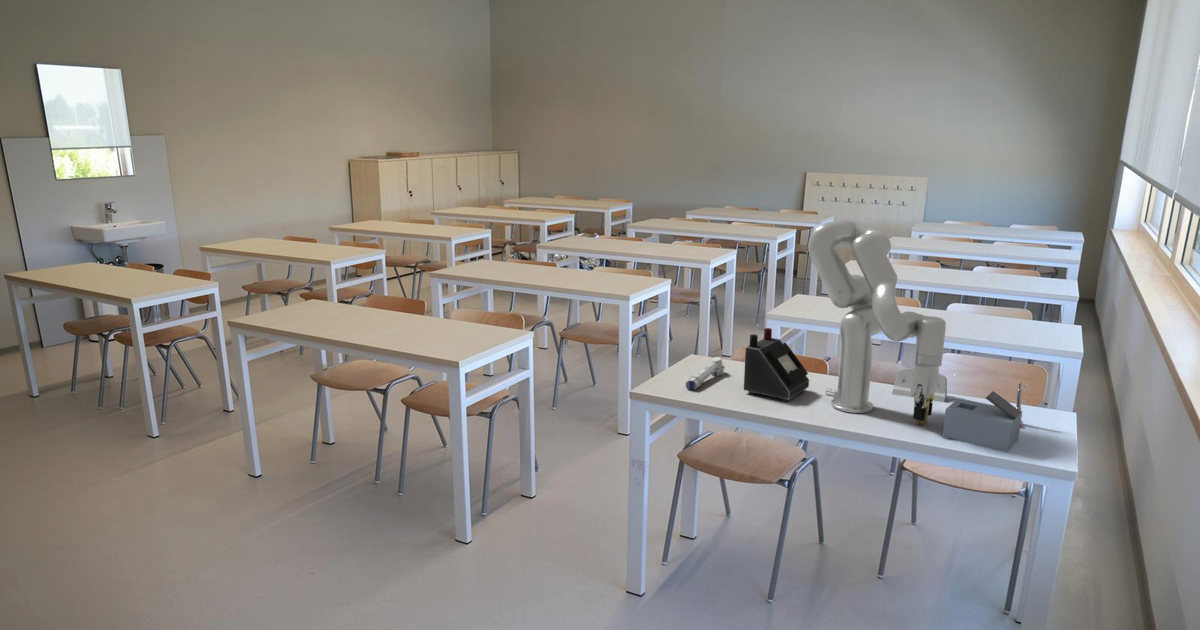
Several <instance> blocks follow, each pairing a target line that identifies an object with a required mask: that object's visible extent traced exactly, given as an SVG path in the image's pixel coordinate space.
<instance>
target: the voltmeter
mask: <svg viewBox="0 0 1200 630" xmlns="http://www.w3.org/2000/svg"><path fill="white" fill-rule="evenodd" d="M763 330H764V333H763V338H762V339H760V340H759V339H758V338H759V337H758V334H753V333H752V334H750V335H749V345H747V346H745V351H744V353H745V354H744V370H743V371H744V372H743V373H744V375H743V390H744V391H747V392H748V394H750V395H755V394H756V393H757V394H761V395H766V396H769V397H775V398H779V399H781V401H782V402H784V403H785V402H786V403H787V402H789V401H790V400H791V399H792V398H795V396H797V395H799V394H800V393H803V392H804V391H805V390H807V389H808V388H809V386H810V379H809V378H808V375H809V372H808V371H807V370H806V368H805V366H804V365H803V364H802V362H800V360H799V359H798V357H797V356H796V354H795V353H794V352H793V351H792V349H791V348H790V347H789V345H788V344H787V342H782V340H781V339H780V338H774V337H773V336H772V335H773V333H772V330H773V329H772V328H769V327H766V328H764V329H763Z"/></svg>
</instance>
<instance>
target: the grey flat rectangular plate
mask: <svg viewBox="0 0 1200 630" xmlns="http://www.w3.org/2000/svg"><path fill="white" fill-rule="evenodd" d="M985 400H987V401H988V402H990V403H991V405H994V406H996V407H998V408H999V409H1000V410H1002V411H1003V412H1004V413H1006V414H1007V415H1008V416H1009V417H1011V418H1012V419H1013V420H1015V419H1016V418H1017V417H1018V415H1019V414H1020V413H1021V411H1022V410H1021V411H1019V410H1018V409H1017V408H1016V406H1014V405H1013V404H1011V403H1010V402H1009V401H1007V400H1006V399H1005V398H1004V397H1002V396H1001V395H999V394H998V393H997V392H996V391H994V390H993V391H991V392H990V393H989V394H988V395H987V396H986V397H985Z"/></svg>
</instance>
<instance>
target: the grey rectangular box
mask: <svg viewBox="0 0 1200 630" xmlns="http://www.w3.org/2000/svg"><path fill="white" fill-rule="evenodd" d="M944 414H945V415H944V420H943V421H944V423H943V430H942V431H943V432H942V437H943V438H946V439H951V440H955V441H957V442H958V441H959V442H962V443H963V442H964V443H967V444H972V445H976V446H979V447H984V448H987V449H991V450H992V449H993V450H996V451H1000V452H1005V453H1009V451H1010V450H1011V449H1012V448H1013V446H1014V445H1016V443H1017V442H1018V441H1019V439H1020V431H1021V427H1020V425H1021V426H1022V416H1023V411H1022V410H1021V413H1020V414H1019V415H1018V417H1017V418H1016V419H1015V420H1013V419H1012V418H1011V417H1009V416H1008V415H1007V414H1006V413H1004V412H1003V411H1002V410H1000V409H999V408H998V407H996V406H995V405H994V404H990V403H983V402H979V401H975V400H969V399H965V398H957V399H956V400H955V401H953V402H952V403H951V404H950V405H949V406H948V407H946V408H945V413H944Z"/></svg>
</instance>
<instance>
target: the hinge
mask: <svg viewBox="0 0 1200 630" xmlns="http://www.w3.org/2000/svg"><path fill="white" fill-rule="evenodd" d="M914 368H915V367H910V368H908V367H907V368H901V369H899V370H898V372H897V375H896V378H895V381H894V384H893V388H892V395H896V396H902V395H904V396H903V397H908V396H910V397H909V398H914V397H915V395H914V396H911V395H910V392H911V385H912V378H913V373H914ZM947 398H948V379H947V376H945V375H943V374H942V373H939V374H938V385H937V390H936V392H935V393H934V399H933V400H934V401H933V402H939V401H940V402H939V403H945V400H946V399H947Z"/></svg>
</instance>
